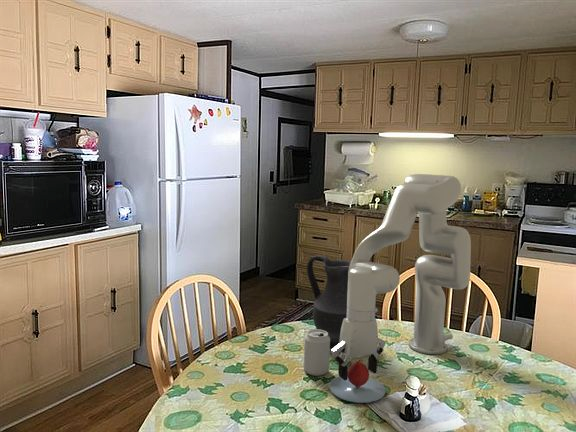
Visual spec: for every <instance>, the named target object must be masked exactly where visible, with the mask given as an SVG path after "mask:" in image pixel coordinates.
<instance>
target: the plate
mask: <svg viewBox="0 0 576 432" xmlns="http://www.w3.org/2000/svg"><path fill="white" fill-rule="evenodd" d="M385 388H386V387H385V386H384V385H383V383H381V382H380V381H379V380H377V379H375V378H372V377H370V376H369V379H368V381H367V382H366V383H365V384H364V385H362V386H360V387H356V386H354V385H353V384H352V383H351V382H350V381H349V379H348V377H347V380H346V381H345V380H343V379H342V378H341V377H339V376H336V377H334V378H333V379H332V380H331V381H330V382H329V390H330V392H331V393H332V394H333V396H335V397H337V398H339V399H341V400H342V401H347V402H351V403H356V404H368V403H369V404H370V403H372V402H371V401H375V400H377V401H380V400H381V399H382V398H384V397H385V394H386V389H385ZM379 399H380V400H379ZM375 402H376V401H375Z"/></svg>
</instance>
